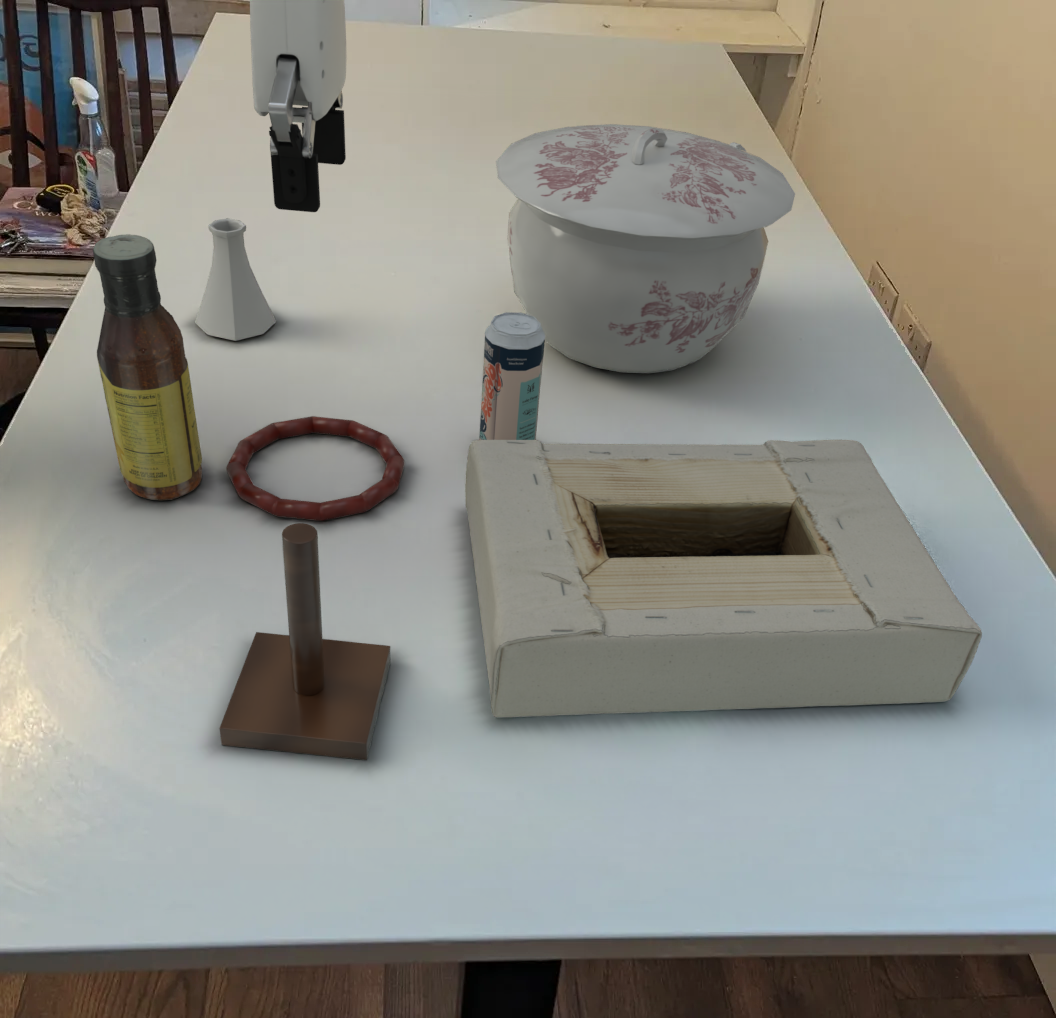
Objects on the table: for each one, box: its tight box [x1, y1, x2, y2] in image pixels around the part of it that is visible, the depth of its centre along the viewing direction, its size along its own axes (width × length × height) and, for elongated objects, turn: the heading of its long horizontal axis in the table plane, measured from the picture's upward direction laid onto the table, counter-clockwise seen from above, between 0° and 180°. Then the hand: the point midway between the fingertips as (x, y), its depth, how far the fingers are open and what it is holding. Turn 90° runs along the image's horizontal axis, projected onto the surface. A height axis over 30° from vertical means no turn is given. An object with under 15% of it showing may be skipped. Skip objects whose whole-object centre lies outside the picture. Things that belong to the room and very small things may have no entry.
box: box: [464, 439, 983, 718], centre depth 84 cm, size 23×8×32 cm
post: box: [218, 522, 391, 761], centre depth 72 cm, size 9×9×14 cm
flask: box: [194, 217, 277, 342], centre depth 112 cm, size 7×7×10 cm
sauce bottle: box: [92, 233, 203, 501], centre depth 87 cm, size 6×6×20 cm
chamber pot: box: [495, 123, 796, 374], centre depth 112 cm, size 28×28×21 cm
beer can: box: [478, 311, 546, 440], centre depth 97 cm, size 5×5×12 cm
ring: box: [226, 415, 405, 522], centre depth 96 cm, size 14×14×1 cm
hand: (311, 184), depth 89 cm, fingers open, 9 cm apart
